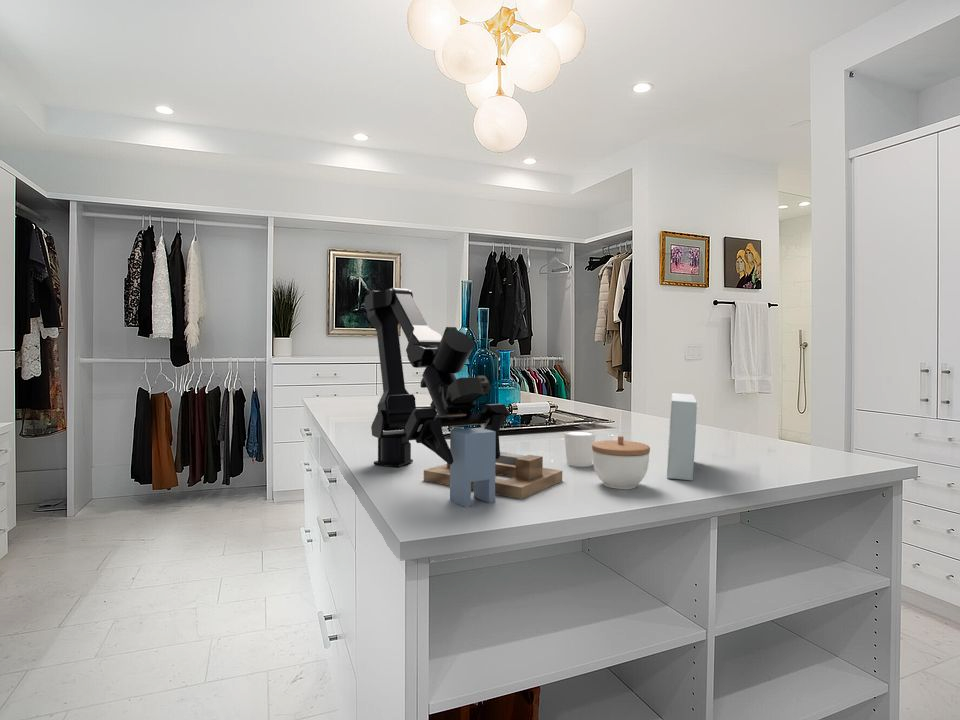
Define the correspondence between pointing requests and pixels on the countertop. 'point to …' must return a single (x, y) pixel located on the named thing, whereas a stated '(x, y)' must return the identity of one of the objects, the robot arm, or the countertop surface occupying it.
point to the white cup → (579, 448)
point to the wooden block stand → (520, 467)
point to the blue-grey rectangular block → (472, 465)
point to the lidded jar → (620, 462)
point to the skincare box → (682, 437)
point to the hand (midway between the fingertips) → (475, 460)
